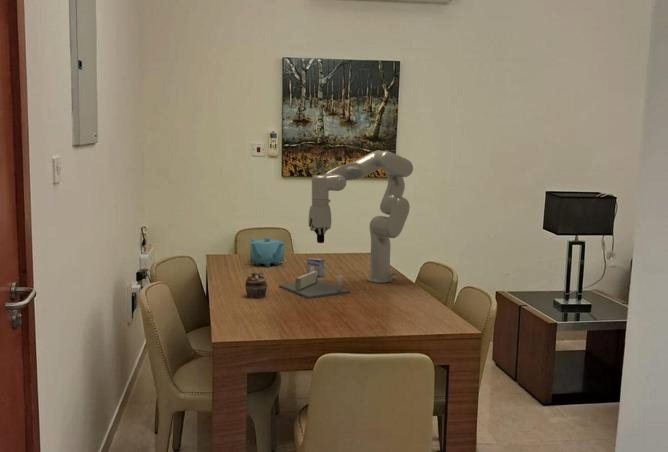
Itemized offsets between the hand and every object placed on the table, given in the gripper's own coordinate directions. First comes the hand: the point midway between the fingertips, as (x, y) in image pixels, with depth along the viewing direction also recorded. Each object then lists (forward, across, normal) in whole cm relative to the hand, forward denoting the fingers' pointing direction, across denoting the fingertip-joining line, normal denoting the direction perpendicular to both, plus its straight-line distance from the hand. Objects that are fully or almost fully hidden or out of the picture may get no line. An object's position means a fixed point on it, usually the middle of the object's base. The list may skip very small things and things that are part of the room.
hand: (320, 242), depth 292 cm
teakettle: (+21, -5, -60) cm, 64 cm away
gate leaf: (+19, +7, -2) cm, 20 cm away
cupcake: (+20, +33, -1) cm, 39 cm away
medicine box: (+22, -12, -23) cm, 34 cm away
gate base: (+21, +6, +2) cm, 22 cm away
